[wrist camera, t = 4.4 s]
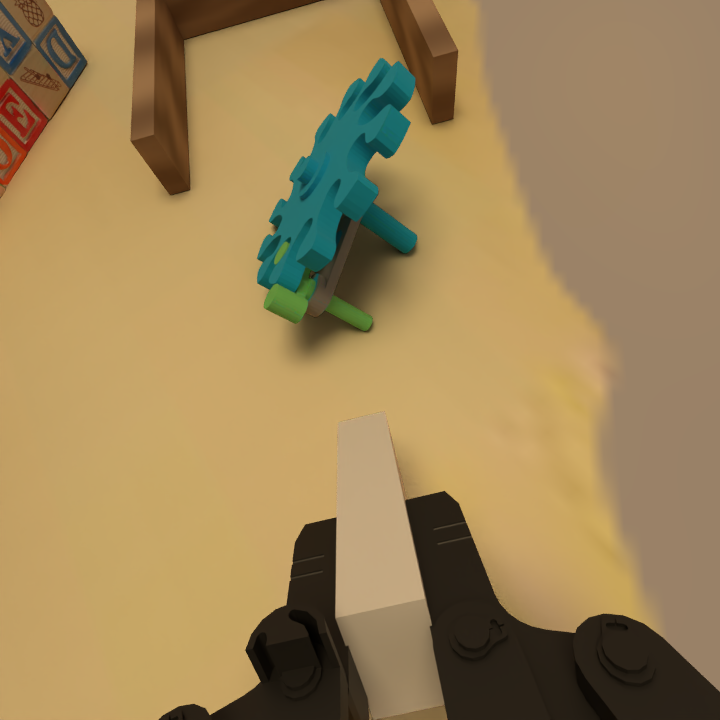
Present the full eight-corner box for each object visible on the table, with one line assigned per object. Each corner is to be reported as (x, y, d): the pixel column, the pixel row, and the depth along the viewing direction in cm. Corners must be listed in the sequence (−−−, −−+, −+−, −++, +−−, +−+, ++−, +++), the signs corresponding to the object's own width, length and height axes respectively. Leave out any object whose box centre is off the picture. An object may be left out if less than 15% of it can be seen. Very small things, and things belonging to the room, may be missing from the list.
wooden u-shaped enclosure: (453, 118, 23) (462, -14, 18) (169, 194, 24) (94, 90, 18) (386, -29, 30) (378, -157, 24) (167, 34, 30) (111, -77, 25)
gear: (296, 126, 22) (420, -21, 14) (381, 191, 25) (527, 103, 16) (214, 315, 20) (300, 280, 11) (318, 362, 23) (449, 363, 14)
